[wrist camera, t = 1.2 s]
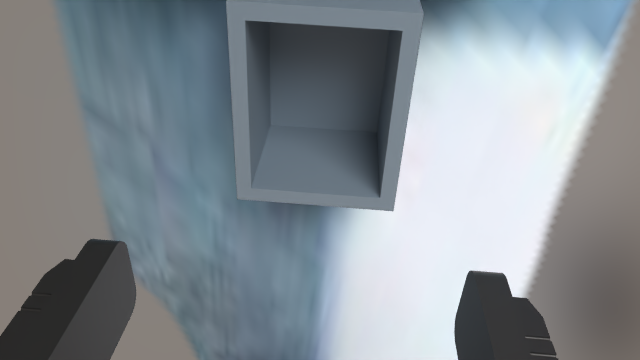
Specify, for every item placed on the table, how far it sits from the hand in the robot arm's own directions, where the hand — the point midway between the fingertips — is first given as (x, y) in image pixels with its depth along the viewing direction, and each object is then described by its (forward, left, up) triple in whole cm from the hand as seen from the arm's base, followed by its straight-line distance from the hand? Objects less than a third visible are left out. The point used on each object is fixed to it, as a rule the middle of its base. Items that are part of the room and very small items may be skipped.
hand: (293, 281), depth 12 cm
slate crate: (0, 0, -14) cm, 14 cm away
